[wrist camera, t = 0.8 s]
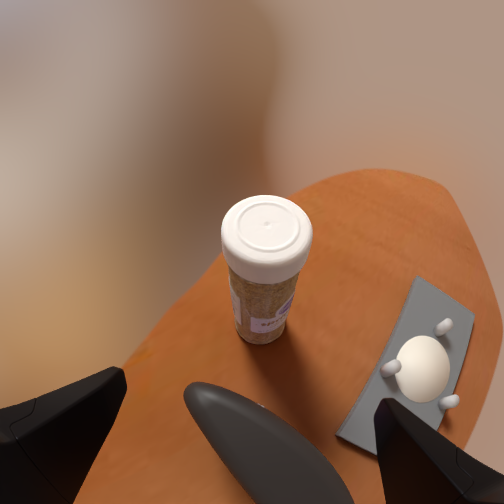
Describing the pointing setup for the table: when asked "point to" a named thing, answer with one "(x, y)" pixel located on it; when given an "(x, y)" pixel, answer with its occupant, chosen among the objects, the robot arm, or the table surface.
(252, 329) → the sprinkles bottle
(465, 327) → the pin board
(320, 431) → the table surface
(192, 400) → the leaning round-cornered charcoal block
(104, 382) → the robot arm
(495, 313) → the table surface
